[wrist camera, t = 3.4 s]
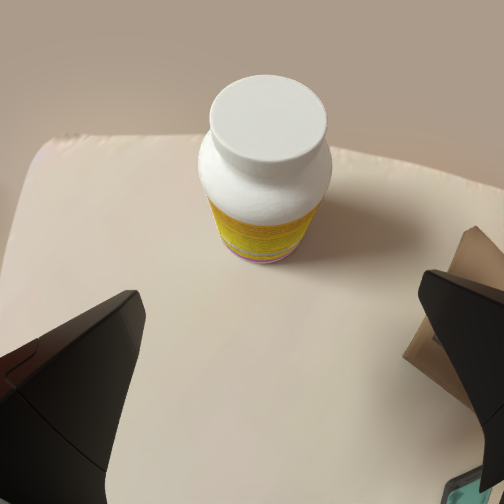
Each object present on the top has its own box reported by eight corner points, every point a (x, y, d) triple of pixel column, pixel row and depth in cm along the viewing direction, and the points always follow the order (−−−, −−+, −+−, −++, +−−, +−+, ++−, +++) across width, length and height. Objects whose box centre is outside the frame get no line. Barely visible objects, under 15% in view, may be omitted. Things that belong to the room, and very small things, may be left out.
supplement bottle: (313, 255, 23) (377, 175, 10) (226, 273, 22) (194, 206, 10) (292, 177, 24) (321, 56, 12) (211, 191, 24) (178, 73, 12)
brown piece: (479, 415, 19) (520, 427, 13) (402, 356, 21) (444, 362, 15) (528, 301, 21) (567, 293, 16) (463, 232, 23) (503, 209, 17)
